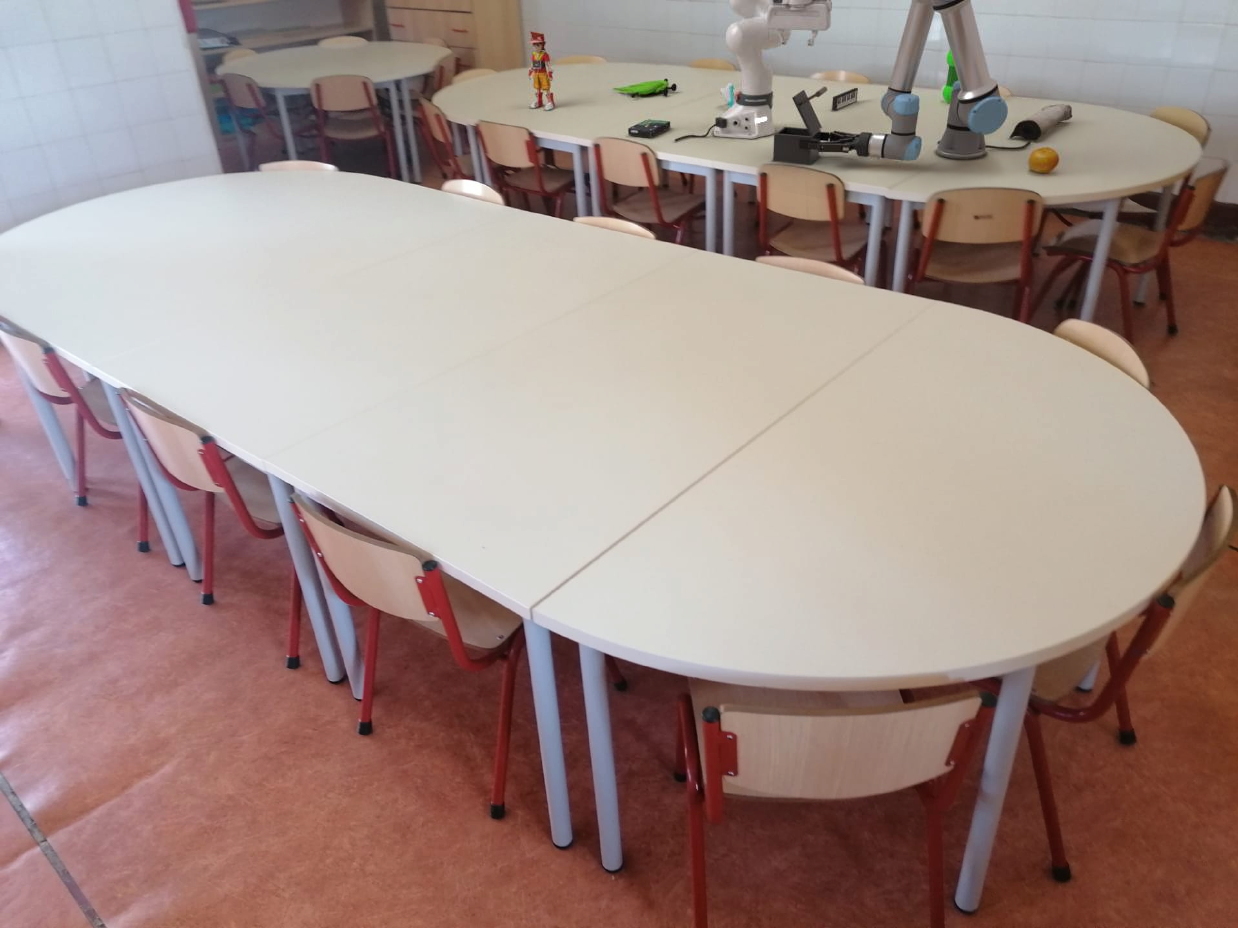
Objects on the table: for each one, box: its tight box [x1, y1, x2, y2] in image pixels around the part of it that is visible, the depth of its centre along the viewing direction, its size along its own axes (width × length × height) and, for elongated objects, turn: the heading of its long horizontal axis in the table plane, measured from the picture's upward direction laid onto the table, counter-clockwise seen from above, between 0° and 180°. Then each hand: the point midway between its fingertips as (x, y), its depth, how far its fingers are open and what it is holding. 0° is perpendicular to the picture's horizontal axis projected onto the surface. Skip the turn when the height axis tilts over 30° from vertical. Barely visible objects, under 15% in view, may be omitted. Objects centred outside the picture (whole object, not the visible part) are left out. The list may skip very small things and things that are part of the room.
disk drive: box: [627, 118, 671, 138], centre depth 341 cm, size 10×3×15 cm
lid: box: [791, 86, 828, 136], centre depth 292 cm, size 14×10×8 cm
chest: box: [772, 126, 822, 166], centre depth 302 cm, size 13×10×9 cm
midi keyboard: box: [831, 87, 859, 111], centre depth 357 cm, size 18×1×5 cm, turn 138°
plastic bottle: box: [942, 49, 959, 104], centre depth 348 cm, size 10×10×25 cm
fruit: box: [1027, 147, 1060, 174], centre depth 278 cm, size 8×8×8 cm
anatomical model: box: [719, 82, 742, 108], centre depth 364 cm, size 15×10×10 cm
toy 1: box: [527, 31, 556, 111], centre depth 374 cm, size 12×9×30 cm
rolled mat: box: [1009, 103, 1073, 142], centre depth 315 cm, size 30×9×10 cm
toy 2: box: [612, 78, 677, 99], centre depth 396 cm, size 28×5×30 cm
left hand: (797, 45), depth 285 cm, fingers open, 8 cm apart
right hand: (804, 139), depth 299 cm, fingers closed on chest, 10 cm apart
